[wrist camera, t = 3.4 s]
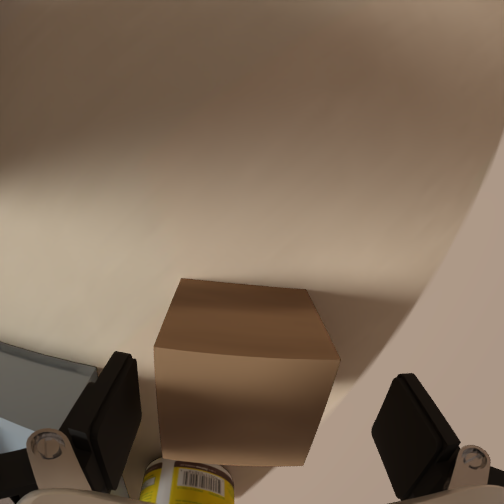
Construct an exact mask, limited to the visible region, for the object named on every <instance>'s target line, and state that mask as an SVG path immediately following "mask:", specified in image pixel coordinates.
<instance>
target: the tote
mask: <svg viewBox="0 0 504 504" xmlns="http://www.w3.org/2000/svg"><path fill="white" fill-rule="evenodd" d="M97 379H98V376H97V370H96V367H92V366H88V365H83V364H79V363H74V362H70V361H66V360H62V359H58V358H54V357H50V356H46V355H42V354H39V353H35V352H32V351H28V350H25V349H21V348H18V347H15V346H11V345H8V344H5V343H2V342H0V454H2V453H7V452H11V451H16V450H20V449H24V448H26V442H27V439H28V437H29V436H30V435H31V434H32V433H34V432H35V431H37V430H40V429H44V428H51V429H56V430H59V428H60V427H61V425H62V424H63V422H64V420H65V419H66V417H67V415H68V414H69V412H70V410H71V409H72V407H73V406H74V404H75V402H76V401H77V399H78V398H79V396H80V394H81V393H82V391H83V390H84V388H85V387H86V385H87V384H88V383H89V382H94V383H95V382H96V380H97ZM110 494H112V495H116V496H121V497H126V498H129V495H128V492H127V489H126V486H125V483H124V480H123V477H122V476H121V479H120V482H119V485H118V487H117V489H116V490H115V491H114V490H111V493H110Z"/></svg>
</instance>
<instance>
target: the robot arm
mask: <svg viewBox="0 0 504 504" xmlns="http://www.w3.org/2000/svg"><path fill="white" fill-rule="evenodd" d="M141 417H142V412H141V403H140V394H139V384H138V372H137V361H136V359H133V358H132V356H131V354H128V353H123V352H118V351H115V352H114V353H113V355H112V356H111V358H110V359H109V361H108V363H107V364H106V366H105V367H104V369H103V371H102V372H101V374H100V375H99V377H98V379H97V380H96V382H95V383H94V382H89V383H88V384H87V385H86V387H85V388H84V390H83V391H82V393H81V394H80V396H79V398H78V399H77V401H76V402H75V404H74V406H73V407H72V409H71V410H70V412H69V414H68V415H67V417H66V419H65V420H64V422H63V424H62V425H61V427H60V428H59V430H56V429H51V428H44V429H40V430H37V431H35V432H34V433H32V434H31V435H30V436H29V437H28V439H27V442H26V448H24V449H20V450H16V451H11V452H7V453H2V454H0V504H156V503H150V502H145V501H140V500H135V499H131V498H126V497H121V496H116V495H112V494H110V493H111V490H114V491H115V490H116V489H117V487H118V485H119V482H120V479H121V476H122V473H123V470H124V467H125V464H126V461H127V458H128V456H129V453H130V450H131V447H132V444H133V441H134V439H135V436H136V433H137V430H138V428H139V425H140V422H141ZM372 437H373V439H374V442H375V444H376V447H377V449H378V452H379V454H380V456H381V459H382V461H383V464H384V466H385V469H386V471H387V474H388V477H389V479H390V482H391V484H392V487H393V489H394V492H395V494H396V497H397V498H398V499H401V501H399V502H394V503H389V504H504V471H502V470H499V469H496V468H494V467H491V466H490V457H489V455H488V454H487V452H486V451H485V450H483V449H482V448H480V447H478V446H475V445H467V446H464V447H462V449H460V448H459V444H460V443H461V442H460V441H459V439H458V437H457V436H456V434H455V433H454V431H453V430H452V428H451V427H450V425H449V424H448V422H447V421H446V419H445V418H444V416H443V415H442V413H441V412H440V410H439V409H438V407H437V406H436V404H435V403H434V401H433V400H432V399H431V397H430V396H429V394H428V393H427V391H426V390H425V389H424V387H423V386H422V384H421V383H420V382H419V380H418V379H417V377H416V376H415V375H414V374H412V373H409V374H399V375H398V376H397V378H394V379H393V381H392V384H391V386H390V388H389V391H388V393H387V395H386V398H385V400H384V402H383V405H382V407H381V409H380V411H379V414H378V416H377V418H376V420H375V422H374V425H373V427H372Z"/></svg>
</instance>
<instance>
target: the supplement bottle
mask: <svg viewBox="0 0 504 504" xmlns="http://www.w3.org/2000/svg"><path fill="white" fill-rule="evenodd" d="M139 500H140V501H145V502H150V503H156V504H234V484H233V480H232V477H231V475H230V474H229V473H228V472H227V471H226V470H225V469H224V468H223V467H222V466H220V465H217V464H205V463H194V462H185V461H177V460H170V459H163V457H162V458H159V459H157V460H155V461H153V462H152V463H151V464H149V466H148V467H147V469H146V471H145V474H144V479H143V484H142V489H141V494H140V499H139Z"/></svg>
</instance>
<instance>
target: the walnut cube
mask: <svg viewBox="0 0 504 504" xmlns="http://www.w3.org/2000/svg"><path fill="white" fill-rule="evenodd" d="M340 361H341V359H340V357H339V355H338V353H337V351H336V349H335V347H334V345H333V343H332V341H331V339H330V337H329V335H328V333H327V331H326V329H325V327H324V325H323V323H322V320H321V318H320V316H319V314H318V312H317V310H316V308H315V306H314V304H313V302H312V300H311V298H310V296H309V294H308V292H307V290H306V289H293V288H280V287H268V286H256V285H245V284H234V283H224V282H213V281H203V280H193V279H183V278H181V280H180V283H179V285H178V287H177V290H176V292H175V295H174V297H173V299H172V302H171V304H170V307H169V309H168V312H167V314H166V317H165V319H164V322H163V324H162V327H161V329H160V332H159V334H158V337H157V339H156V342H155V345H154V366H155V383H156V397H157V409H158V420H159V430H160V440H161V448H162V457H163V459H170V460H177V461H185V462H194V463H205V464H217V465H233V466H303V465H304V462H305V460H306V457H307V455H308V452H309V450H310V447H311V444H312V442H313V439H314V437H315V434H316V432H317V429H318V426H319V423H320V421H321V418H322V415H323V412H324V409H325V407H326V404H327V401H328V398H329V395H330V392H331V389H332V386H333V383H334V380H335V377H336V373H337V370H338V367H339V364H340Z"/></svg>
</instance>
